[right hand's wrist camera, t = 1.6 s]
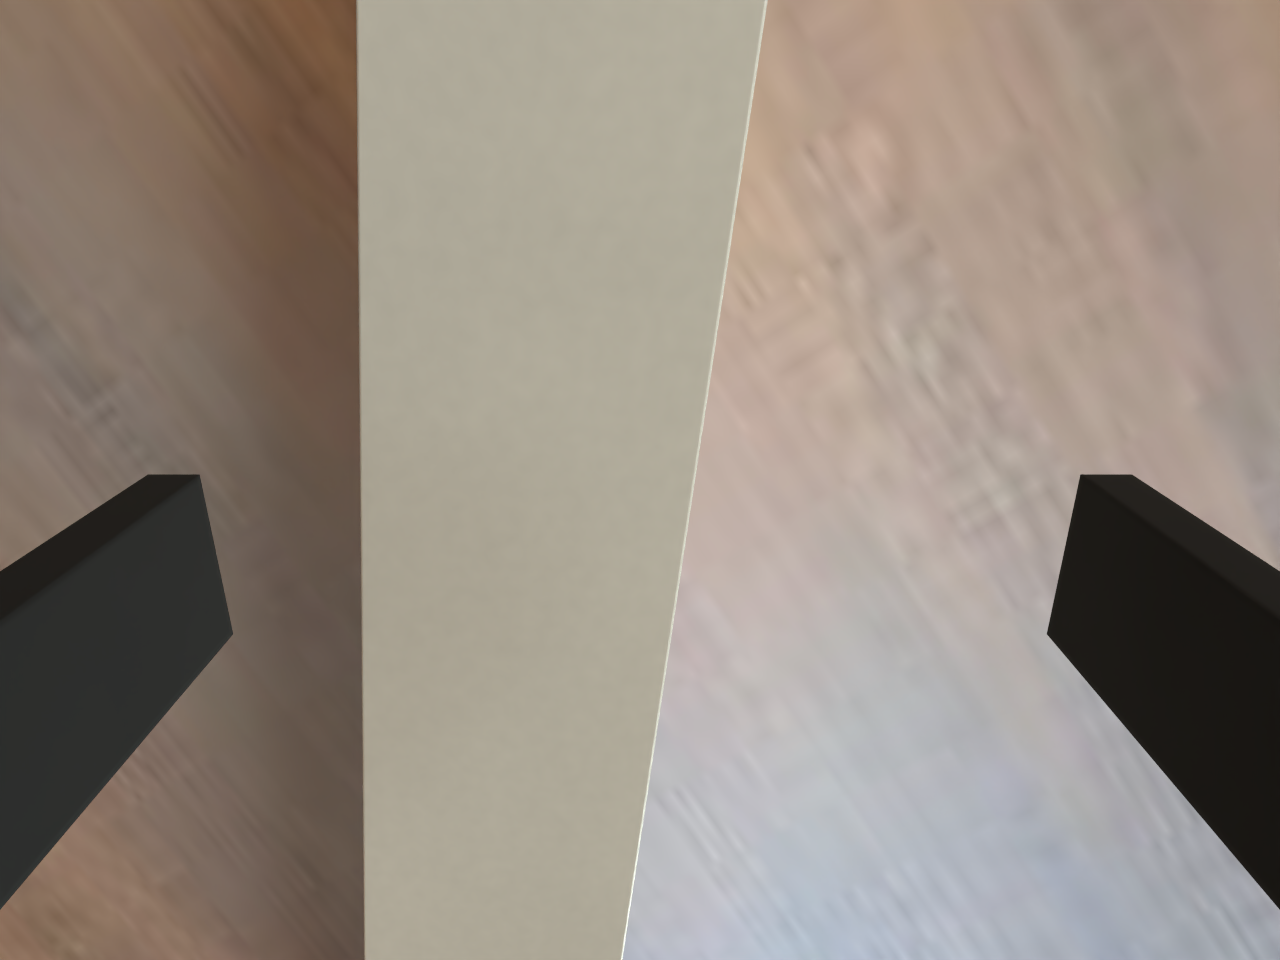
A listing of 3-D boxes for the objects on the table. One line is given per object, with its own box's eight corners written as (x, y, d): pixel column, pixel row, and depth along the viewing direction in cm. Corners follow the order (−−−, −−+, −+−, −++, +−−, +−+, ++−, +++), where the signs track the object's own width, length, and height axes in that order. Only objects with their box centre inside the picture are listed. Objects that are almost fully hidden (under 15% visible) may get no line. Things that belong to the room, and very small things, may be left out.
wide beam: (440, -592, 21) (346, -944, 14) (816, -532, 21) (896, -847, 15) (405, 1213, 49) (367, 1382, 42) (568, 1224, 49) (556, 1394, 42)
